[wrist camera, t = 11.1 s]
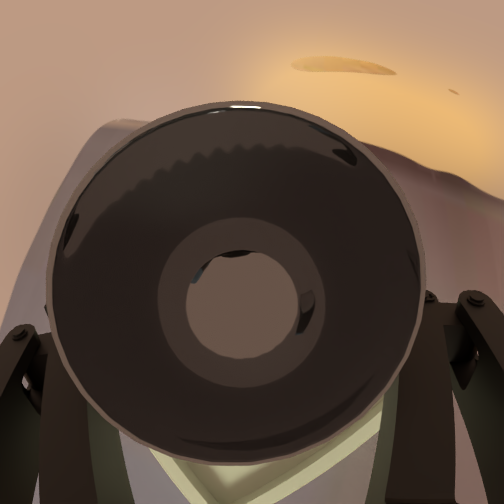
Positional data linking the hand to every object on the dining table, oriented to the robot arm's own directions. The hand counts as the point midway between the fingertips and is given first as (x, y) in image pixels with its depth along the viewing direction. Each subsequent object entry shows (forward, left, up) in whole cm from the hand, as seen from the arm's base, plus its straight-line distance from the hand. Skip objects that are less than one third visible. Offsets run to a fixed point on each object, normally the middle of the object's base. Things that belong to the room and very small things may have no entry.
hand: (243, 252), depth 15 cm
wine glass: (+2, +3, -6) cm, 7 cm away
